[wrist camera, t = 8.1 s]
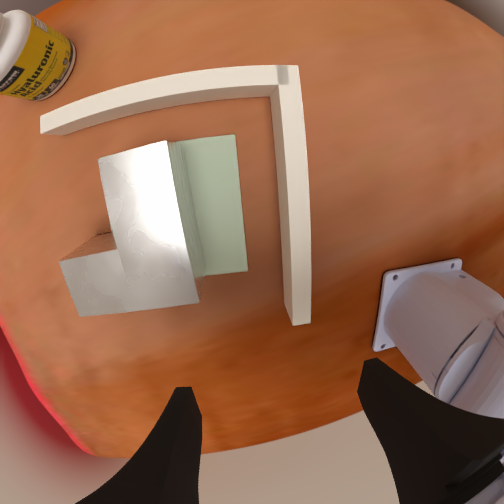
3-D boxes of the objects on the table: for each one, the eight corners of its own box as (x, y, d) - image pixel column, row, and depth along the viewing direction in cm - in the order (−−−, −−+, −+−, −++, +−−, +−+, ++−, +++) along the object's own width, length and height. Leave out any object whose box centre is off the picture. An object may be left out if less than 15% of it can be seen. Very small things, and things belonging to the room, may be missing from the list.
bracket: (206, 266, 18) (199, 302, 14) (108, 281, 18) (79, 316, 13) (183, 145, 16) (166, 140, 11) (81, 173, 15) (39, 181, 11)
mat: (234, 134, 16) (235, 134, 16) (247, 269, 19) (248, 270, 19) (101, 157, 15) (100, 157, 15) (125, 282, 18) (124, 283, 18)
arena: (286, 79, 15) (297, 65, 12) (299, 301, 20) (310, 322, 17) (63, 119, 14) (40, 116, 11) (103, 318, 19) (89, 340, 16)
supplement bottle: (44, 114, 14) (-51, 106, 4) (18, 82, 12) (-64, 67, 3) (90, 56, 13) (9, 8, 4) (59, 29, 11) (-12, -12, 2)
